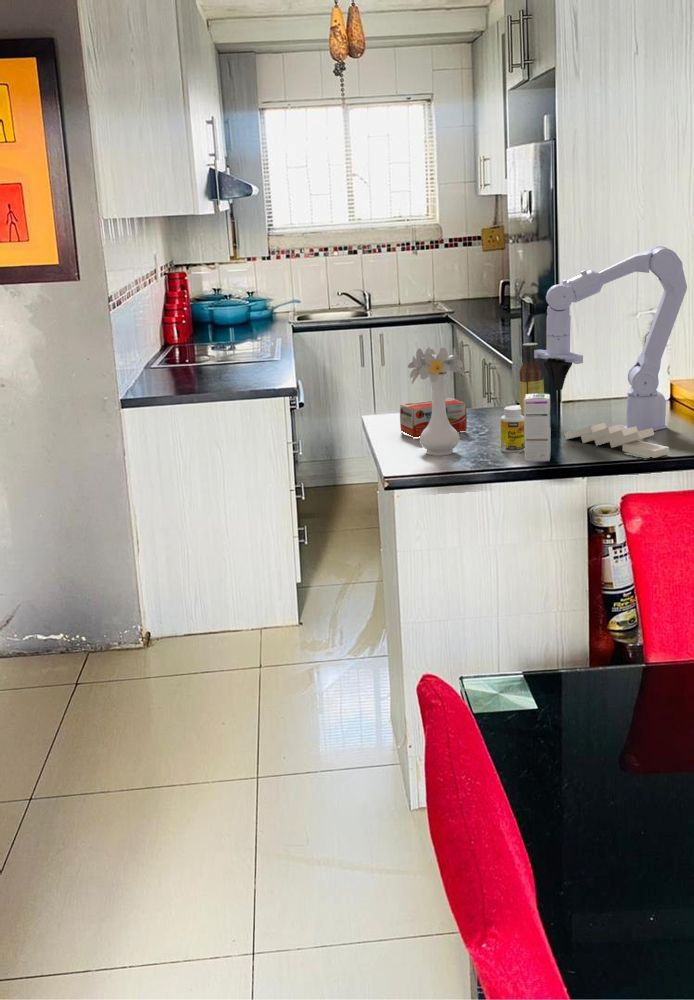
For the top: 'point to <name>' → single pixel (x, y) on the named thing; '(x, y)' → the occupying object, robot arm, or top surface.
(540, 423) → the syrup box
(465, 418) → the medicine box
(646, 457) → the felt pad
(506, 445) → the supplement bottle
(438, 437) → the flower vase
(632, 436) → the domino
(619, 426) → the domino
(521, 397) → the sauce bottle
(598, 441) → the domino
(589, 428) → the domino
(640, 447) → the domino
